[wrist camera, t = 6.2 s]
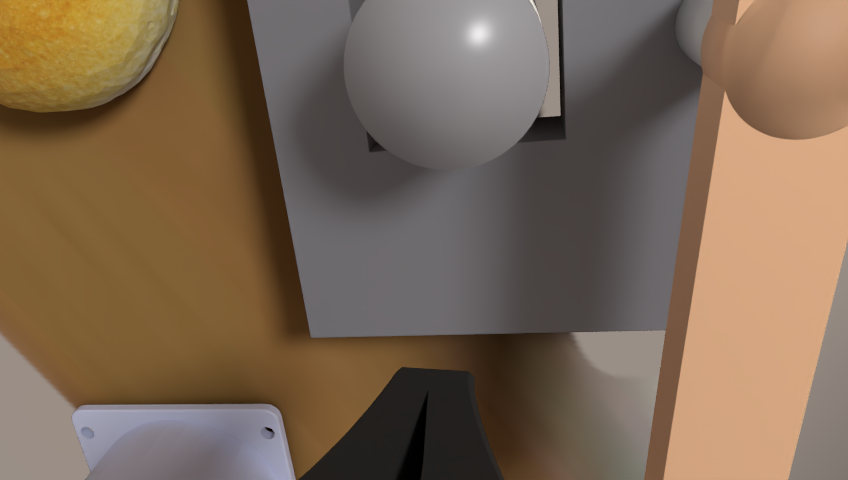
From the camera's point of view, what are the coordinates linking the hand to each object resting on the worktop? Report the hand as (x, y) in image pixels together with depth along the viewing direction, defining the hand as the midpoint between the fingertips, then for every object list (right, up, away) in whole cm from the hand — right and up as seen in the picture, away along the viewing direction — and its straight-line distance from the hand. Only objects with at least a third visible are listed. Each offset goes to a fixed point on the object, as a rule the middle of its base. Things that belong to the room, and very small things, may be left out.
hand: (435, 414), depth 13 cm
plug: (+1, +9, +6) cm, 11 cm away
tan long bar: (+6, +2, +1) cm, 7 cm away
